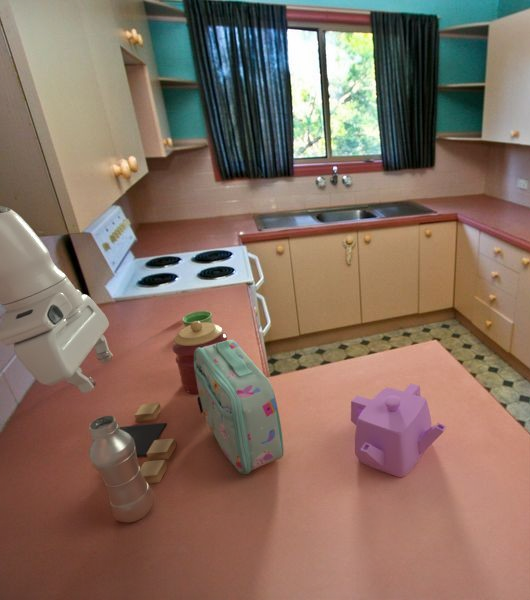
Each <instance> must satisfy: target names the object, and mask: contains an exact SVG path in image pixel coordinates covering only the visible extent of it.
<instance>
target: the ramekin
mask: <svg viewBox="0 0 530 600" xmlns="http://www.w3.org/2000/svg"><path fill="white" fill-rule="evenodd" d="M212 318H213V314H212V312H211V311H208V310H197V311H192V312H190V313H187V314H185V315H184V316H183V317H182V319H181V320H182V323H183V324H184V328H185V327H187V326H189V325H191V323H192V322H194V321H199V322H200V323H203V322H207V323H212V324H213V319H212Z"/></svg>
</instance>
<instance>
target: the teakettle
mask: <svg viewBox="0 0 530 600" xmlns="http://www.w3.org/2000/svg"><path fill="white" fill-rule="evenodd" d="M350 421H351V422H352V423H353V424H354V425H355V427H356V428H355V434H354V454H355V457H356V458H357V460H358V462H360V463H361V464H363V465H364V466H365V465H366V466H367V467H370V468H373V469H375V470H378V471H380V472H383V473H385V474H388V475H391V476H394V477H396V478H405V477H406V476H407V475H408V474H409V473H410V472H411V471H412V470H413V469H414V468H415V466H416V465H417V463H419V461H420V459H421V458H422V457H423V455H424V452H426V451H427V450H428V449H429V447H430V446H431V445H432V444H433V443H434V442H435V441H436V440H437V439H438V438H439V437H440V436H441V435H442V434H443V433H444V432H445V430H446V429H447V426H446V425H444V424H442V423H439V422H437V423H436V424H434V425H432V417H431V412H430V408H429V403H428V401H427V399H426V398H425V397H422V396H421V386H420V385H418V384H414V383H410V384H409V385H407V387H406V388H405V389H404V390H400V389H396V388H391V387H385V388H383V389H381V390H380V391H379V392H378V393H377V394H376V395H375V396H374V397H373V398H371V399H370V398H368V397H364V396H360V395H356V396H354V398H353V399H352V400H351V401H350Z"/></svg>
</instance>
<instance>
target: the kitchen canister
mask: <svg viewBox="0 0 530 600" xmlns="http://www.w3.org/2000/svg"><path fill="white" fill-rule="evenodd" d="M227 340H228V334H226V333H225V332H224V331H223V328H222V326H220V325H218V324H215V323H213V322H212V323H207V322H203V323H200V322H199V321H194V322H192V323H191V325H189V326H187V327H185V326H184V327H183V328H182V329H180V330H179V331H178V332H177V333H176V334H175V335H174V337H173V342H174V343H173V345H172V348H171V349H172V352H173V353H174V354H176V356H175V363H176V364H177V368H178V371H179V376H180V382H181V385H182V386H183V388H184V390H185V391H186V392H188V393H190V394H193V395H194V394H195V395H199V392H198V386H197V381H196V374H195V370H194V352H195V350H196V349H197V348H199V347H200V348H203V347H205V346H209V345H213V344H216V343H220V342H223V341H227Z"/></svg>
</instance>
